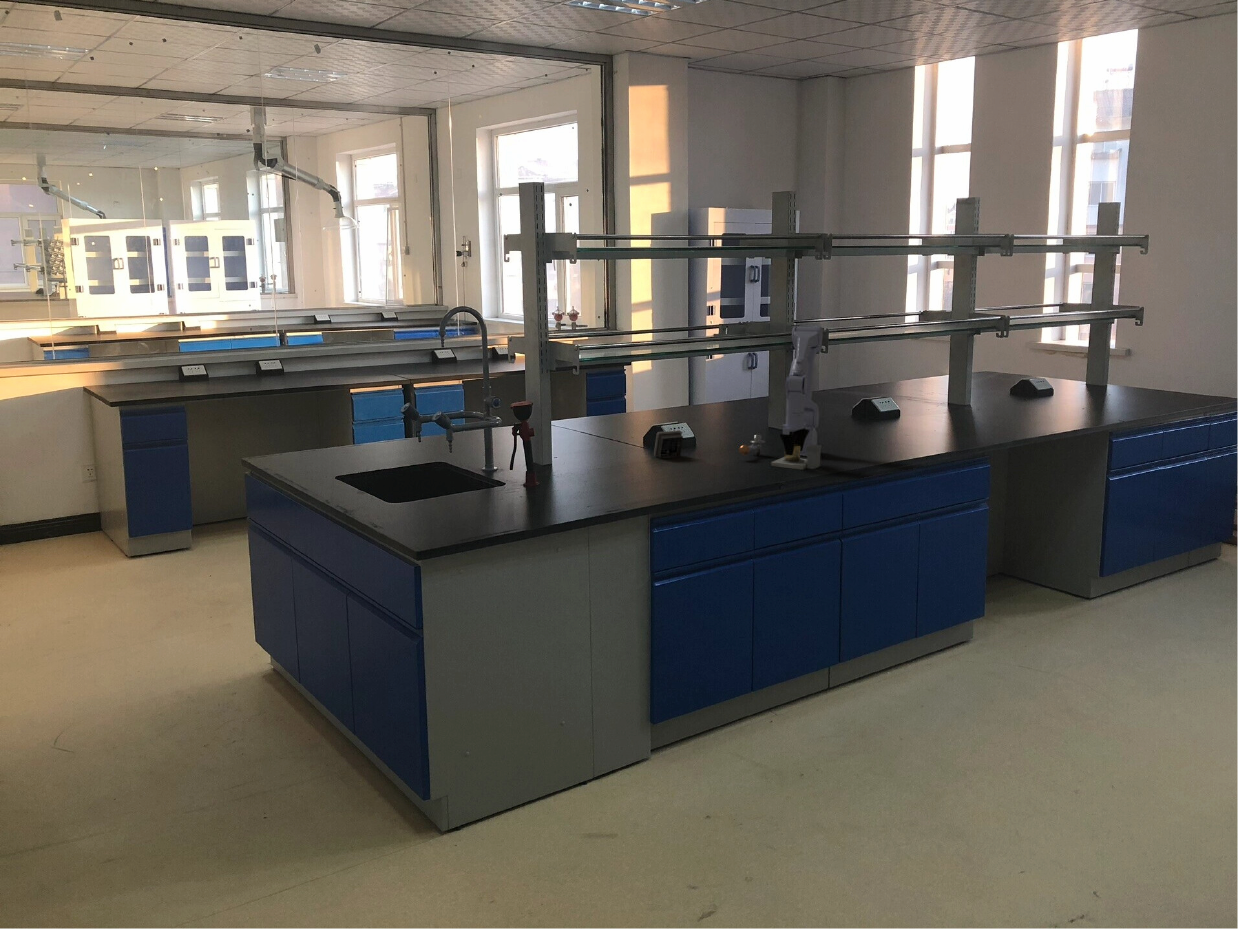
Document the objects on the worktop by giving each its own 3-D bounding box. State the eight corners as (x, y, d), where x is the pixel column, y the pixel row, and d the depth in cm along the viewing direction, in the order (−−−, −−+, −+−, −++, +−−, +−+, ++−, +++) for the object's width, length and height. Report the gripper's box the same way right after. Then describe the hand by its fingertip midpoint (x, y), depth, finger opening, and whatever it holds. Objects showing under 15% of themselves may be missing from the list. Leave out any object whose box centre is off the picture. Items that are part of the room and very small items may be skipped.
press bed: (785, 459, 344) (786, 439, 342) (824, 464, 336) (825, 443, 335) (771, 465, 335) (771, 444, 333) (811, 470, 327) (812, 449, 326)
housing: (787, 458, 340) (787, 440, 338) (801, 459, 337) (802, 441, 336) (782, 461, 335) (783, 443, 334) (797, 462, 333) (797, 444, 332)
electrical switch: (677, 454, 353) (678, 428, 351) (684, 458, 349) (685, 432, 346) (653, 457, 350) (654, 430, 347) (659, 461, 345) (660, 434, 343)
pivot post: (753, 453, 355) (754, 433, 354) (766, 454, 352) (767, 434, 351) (747, 455, 351) (747, 435, 349) (760, 457, 348) (761, 437, 347)
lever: (750, 450, 351) (750, 440, 350) (759, 451, 349) (760, 441, 348) (736, 455, 343) (737, 445, 342) (746, 456, 341) (746, 446, 340)
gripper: (793, 408, 341) (791, 447, 343) (774, 414, 329) (773, 455, 332) (813, 410, 337) (811, 450, 340) (794, 416, 325) (793, 457, 328)
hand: (794, 452), depth 335 cm, fingers open, 7 cm apart
